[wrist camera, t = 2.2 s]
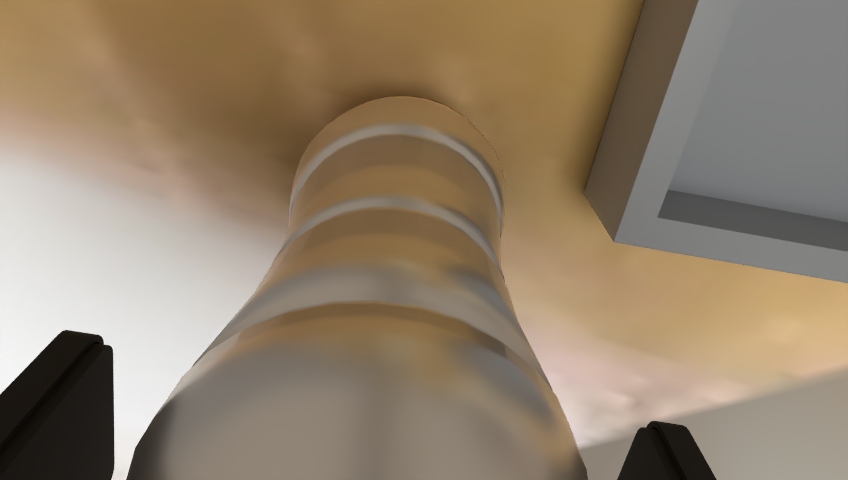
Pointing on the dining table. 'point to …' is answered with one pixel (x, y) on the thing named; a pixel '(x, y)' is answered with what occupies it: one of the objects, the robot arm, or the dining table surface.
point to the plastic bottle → (374, 328)
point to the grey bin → (732, 135)
